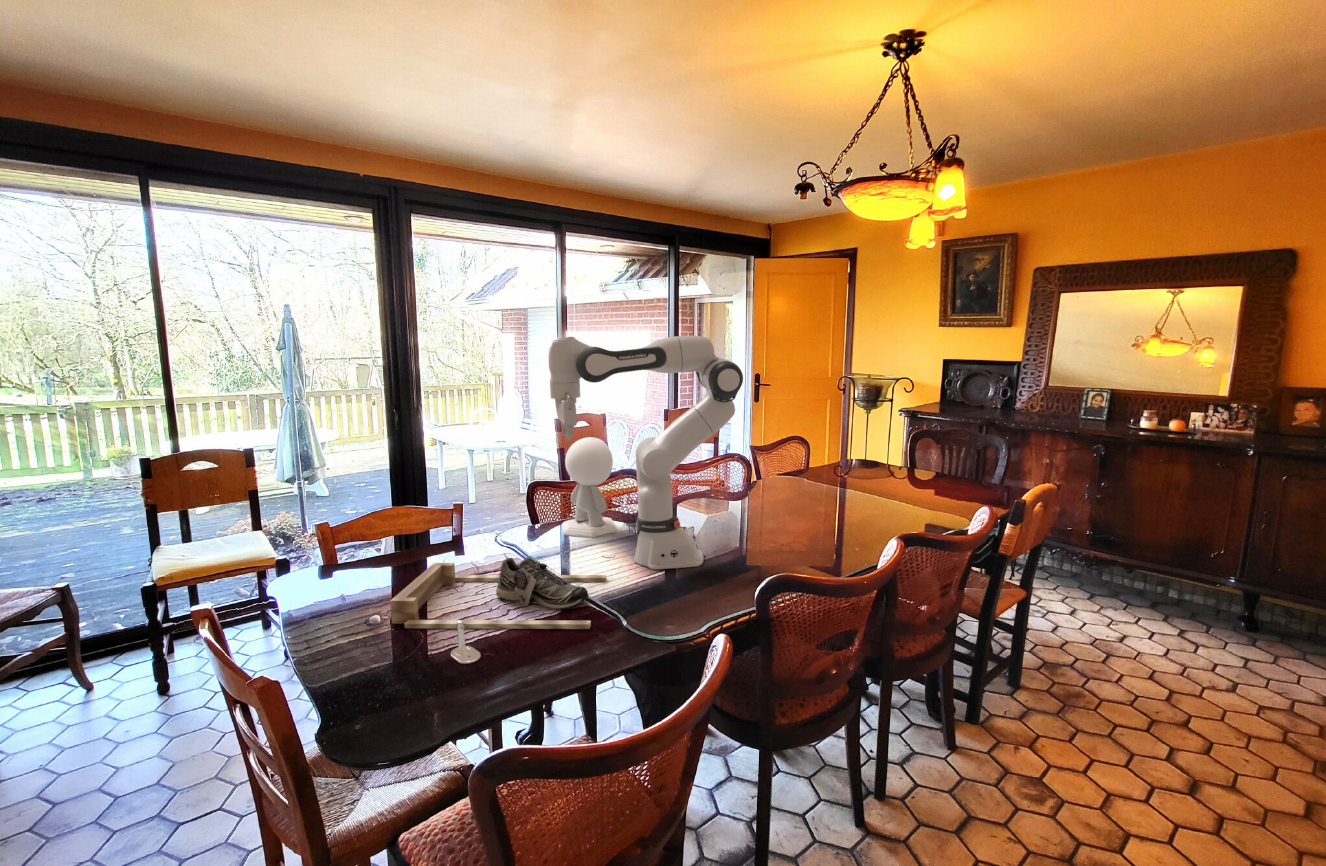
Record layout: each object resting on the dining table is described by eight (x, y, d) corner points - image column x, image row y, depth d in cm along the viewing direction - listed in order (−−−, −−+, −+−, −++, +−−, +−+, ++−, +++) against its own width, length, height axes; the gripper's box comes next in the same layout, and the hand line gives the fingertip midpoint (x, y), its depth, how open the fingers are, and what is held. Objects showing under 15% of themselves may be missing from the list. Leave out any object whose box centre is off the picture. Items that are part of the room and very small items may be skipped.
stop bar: (455, 582, 171) (454, 562, 171) (415, 623, 146) (413, 600, 145) (435, 582, 172) (434, 562, 171) (392, 623, 146) (390, 600, 145)
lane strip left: (590, 625, 144) (590, 620, 143) (589, 628, 142) (589, 624, 141) (408, 624, 145) (408, 619, 145) (404, 628, 143) (404, 623, 143)
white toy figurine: (628, 527, 222) (626, 437, 217) (579, 541, 206) (575, 444, 201) (597, 517, 236) (594, 432, 231) (548, 529, 221) (544, 438, 216)
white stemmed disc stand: (463, 666, 126) (446, 653, 131) (484, 657, 129) (467, 645, 135) (461, 633, 125) (444, 621, 130) (482, 625, 128) (465, 614, 134)
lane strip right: (606, 578, 172) (606, 575, 172) (605, 581, 170) (605, 577, 170) (454, 578, 174) (453, 575, 174) (451, 581, 172) (451, 577, 172)
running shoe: (576, 617, 148) (575, 572, 146) (484, 604, 157) (481, 561, 155) (596, 598, 159) (595, 556, 158) (509, 586, 168) (507, 547, 166)
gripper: (580, 393, 164) (583, 441, 167) (571, 389, 184) (574, 432, 186) (558, 394, 163) (560, 443, 165) (551, 390, 182) (554, 433, 184)
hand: (567, 437), depth 176 cm, fingers open, 8 cm apart
